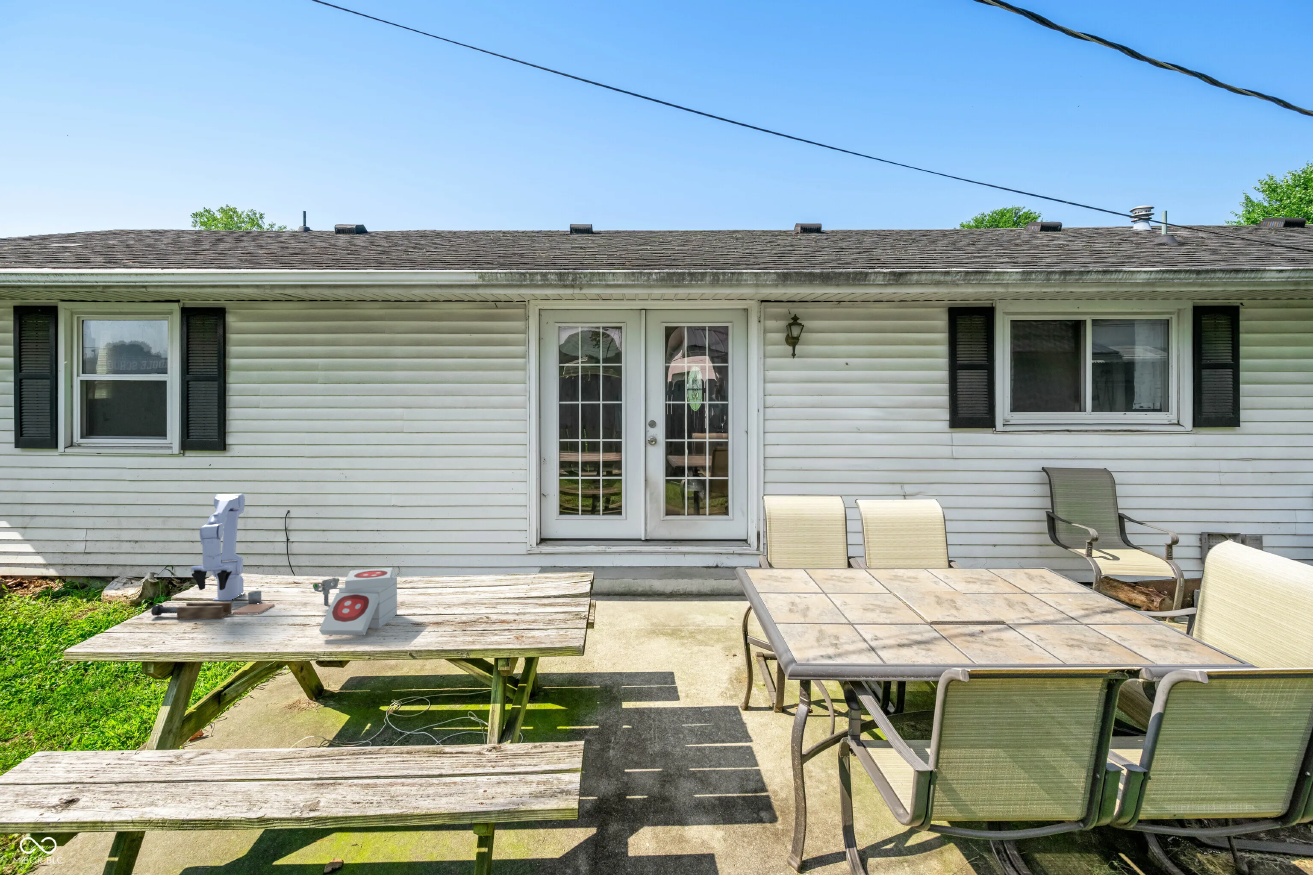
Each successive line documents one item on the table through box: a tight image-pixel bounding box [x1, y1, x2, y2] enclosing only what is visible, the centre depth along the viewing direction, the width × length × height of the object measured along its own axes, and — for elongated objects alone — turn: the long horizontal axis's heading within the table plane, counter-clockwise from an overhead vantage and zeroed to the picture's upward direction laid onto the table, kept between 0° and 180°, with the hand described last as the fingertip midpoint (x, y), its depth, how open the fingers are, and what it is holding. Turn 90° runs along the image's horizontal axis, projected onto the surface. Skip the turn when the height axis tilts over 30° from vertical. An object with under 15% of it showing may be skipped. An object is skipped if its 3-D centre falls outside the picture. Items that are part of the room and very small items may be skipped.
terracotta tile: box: [232, 603, 275, 615], centre depth 232 cm, size 10×10×1 cm
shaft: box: [150, 604, 178, 617], centre depth 224 cm, size 20×4×4 cm, turn 94°
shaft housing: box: [176, 601, 233, 620], centre depth 224 cm, size 16×6×4 cm, turn 94°
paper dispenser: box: [318, 567, 398, 636], centre depth 217 cm, size 19×30×18 cm, turn 0°
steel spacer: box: [247, 590, 262, 605], centre depth 241 cm, size 4×4×4 cm
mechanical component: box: [312, 577, 340, 606], centre depth 240 cm, size 3×10×10 cm, turn 152°
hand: (212, 589), depth 228 cm, fingers open, 7 cm apart
